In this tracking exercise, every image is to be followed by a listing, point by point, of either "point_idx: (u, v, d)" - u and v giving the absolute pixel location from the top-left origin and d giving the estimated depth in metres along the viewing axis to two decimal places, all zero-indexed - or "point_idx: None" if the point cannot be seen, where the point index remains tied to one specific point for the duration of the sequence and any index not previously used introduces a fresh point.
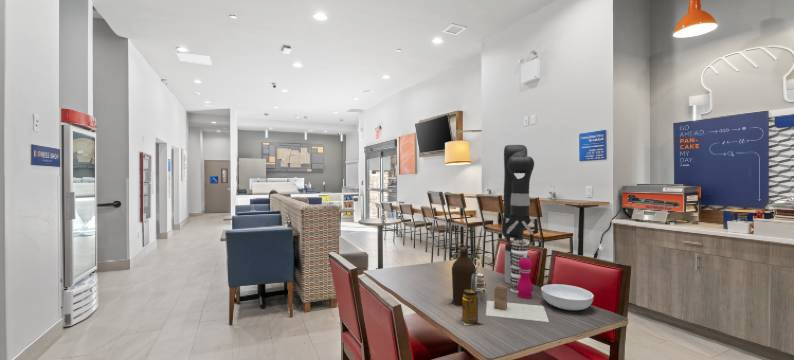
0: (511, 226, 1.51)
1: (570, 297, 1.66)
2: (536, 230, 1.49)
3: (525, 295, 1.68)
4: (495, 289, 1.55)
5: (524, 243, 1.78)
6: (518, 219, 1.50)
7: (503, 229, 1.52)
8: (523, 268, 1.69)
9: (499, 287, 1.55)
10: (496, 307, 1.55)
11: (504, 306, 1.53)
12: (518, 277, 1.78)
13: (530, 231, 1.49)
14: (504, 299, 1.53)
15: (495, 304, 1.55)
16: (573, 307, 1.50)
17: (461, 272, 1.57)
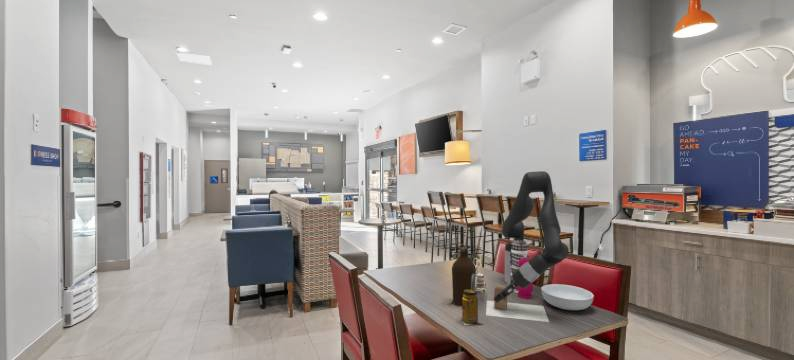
0: None
1: (570, 297, 1.66)
2: None
3: (525, 295, 1.68)
4: (495, 289, 1.55)
5: (524, 243, 1.78)
6: None
7: (505, 297, 1.50)
8: None
9: (499, 287, 1.55)
10: (496, 307, 1.55)
11: (504, 306, 1.53)
12: None
13: None
14: (504, 299, 1.53)
15: (495, 304, 1.55)
16: (573, 307, 1.50)
17: (461, 272, 1.57)
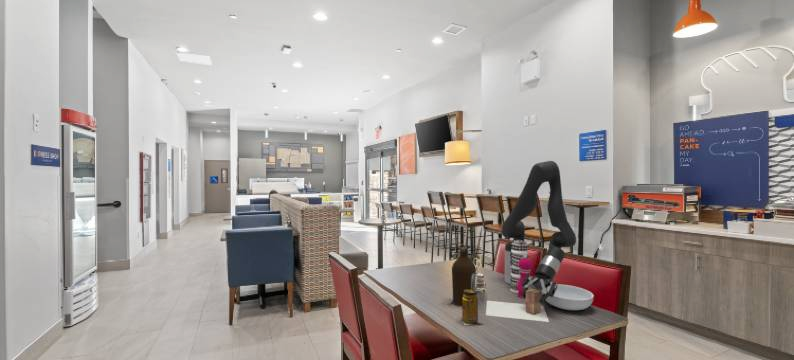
0: (547, 290, 1.51)
1: (570, 297, 1.66)
2: None
3: None
4: (534, 294, 1.48)
5: (524, 243, 1.78)
6: None
7: None
8: (523, 268, 1.69)
9: (533, 291, 1.50)
10: (535, 312, 1.49)
11: (540, 308, 1.51)
12: (518, 277, 1.78)
13: None
14: None
15: (534, 310, 1.49)
16: (573, 307, 1.50)
17: (461, 272, 1.57)
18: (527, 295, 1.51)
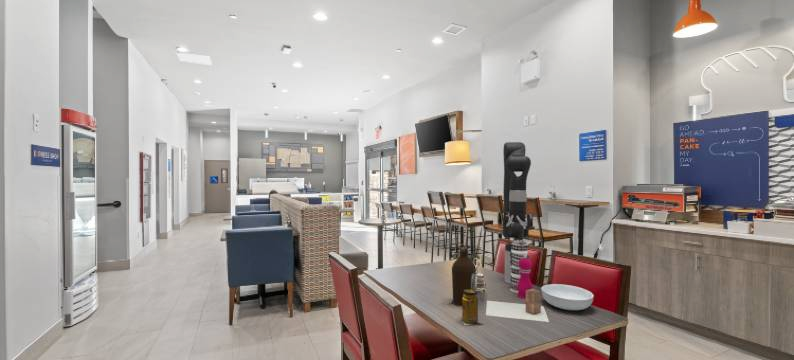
0: (509, 220, 1.66)
1: (570, 297, 1.66)
2: (528, 225, 1.58)
3: (525, 295, 1.68)
4: (534, 294, 1.48)
5: (524, 243, 1.78)
6: (515, 214, 1.64)
7: (504, 222, 1.69)
8: (523, 268, 1.69)
9: (533, 291, 1.50)
10: (535, 312, 1.49)
11: (540, 308, 1.51)
12: (518, 277, 1.78)
13: (523, 225, 1.60)
14: (540, 301, 1.51)
15: (534, 310, 1.49)
16: (573, 307, 1.50)
17: (461, 272, 1.57)
18: (527, 295, 1.51)
